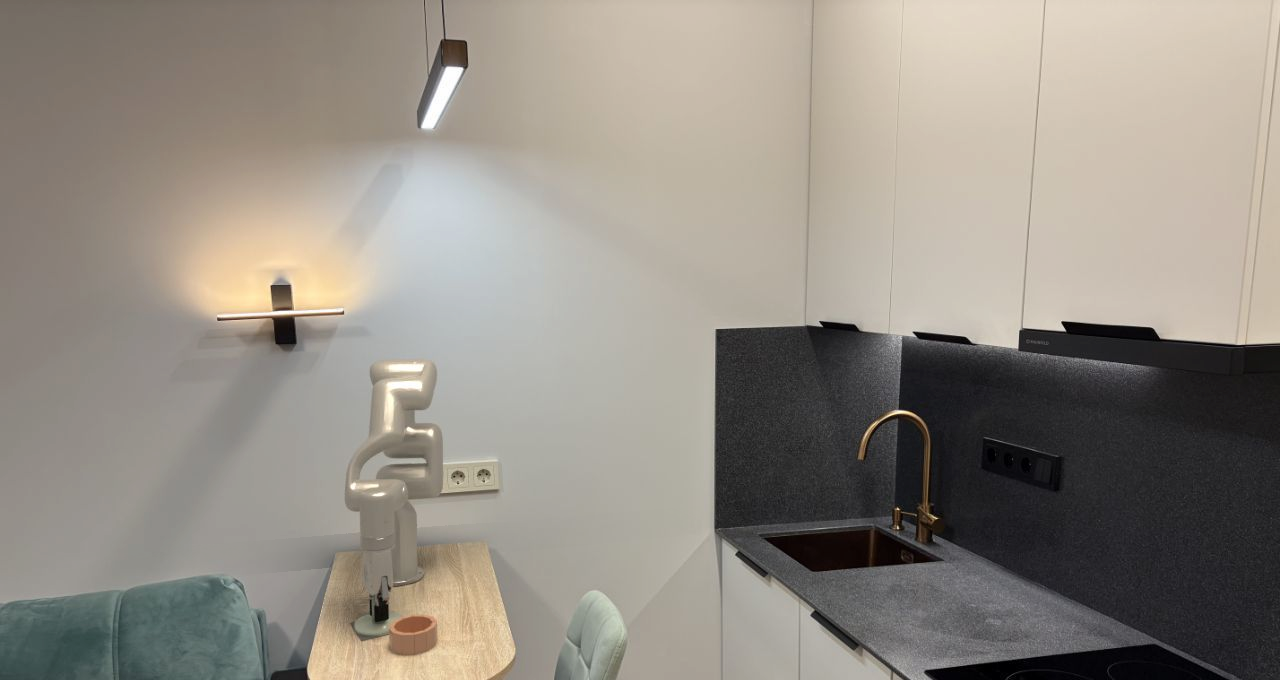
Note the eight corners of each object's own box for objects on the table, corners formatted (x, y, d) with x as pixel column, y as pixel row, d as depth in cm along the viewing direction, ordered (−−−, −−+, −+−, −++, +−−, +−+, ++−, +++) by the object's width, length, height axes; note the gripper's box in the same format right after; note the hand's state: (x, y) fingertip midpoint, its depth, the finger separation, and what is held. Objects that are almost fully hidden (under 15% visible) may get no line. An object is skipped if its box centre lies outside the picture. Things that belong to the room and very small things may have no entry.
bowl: (384, 642, 174) (384, 621, 174) (428, 631, 180) (428, 610, 179) (397, 661, 166) (397, 639, 166) (443, 649, 172) (442, 627, 171)
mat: (349, 624, 183) (349, 622, 183) (396, 613, 189) (396, 611, 189) (361, 643, 174) (361, 641, 174) (410, 631, 180) (410, 629, 180)
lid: (349, 622, 183) (348, 593, 182) (396, 611, 189) (395, 583, 188) (361, 641, 174) (360, 610, 173) (409, 629, 180) (409, 599, 179)
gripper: (352, 534, 184) (354, 608, 186) (370, 555, 171) (372, 635, 172) (384, 528, 189) (385, 601, 190) (404, 548, 175) (405, 627, 177)
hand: (379, 616), depth 181 cm, fingers closed on lid, 3 cm apart
